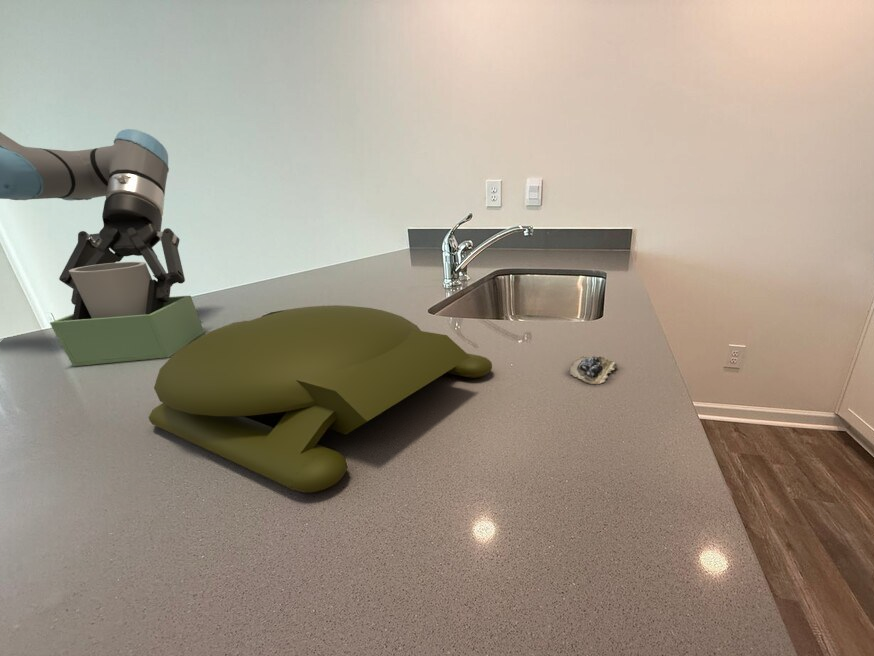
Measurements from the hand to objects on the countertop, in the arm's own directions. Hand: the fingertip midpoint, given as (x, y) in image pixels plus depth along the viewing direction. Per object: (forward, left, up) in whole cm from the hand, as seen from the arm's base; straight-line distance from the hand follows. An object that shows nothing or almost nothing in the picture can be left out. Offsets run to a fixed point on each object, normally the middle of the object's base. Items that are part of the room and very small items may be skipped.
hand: (118, 320), depth 65 cm
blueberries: (+70, -28, -6) cm, 76 cm away
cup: (0, +3, -4) cm, 5 cm away
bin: (0, +3, -6) cm, 7 cm away
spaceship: (+34, -24, -6) cm, 42 cm away
